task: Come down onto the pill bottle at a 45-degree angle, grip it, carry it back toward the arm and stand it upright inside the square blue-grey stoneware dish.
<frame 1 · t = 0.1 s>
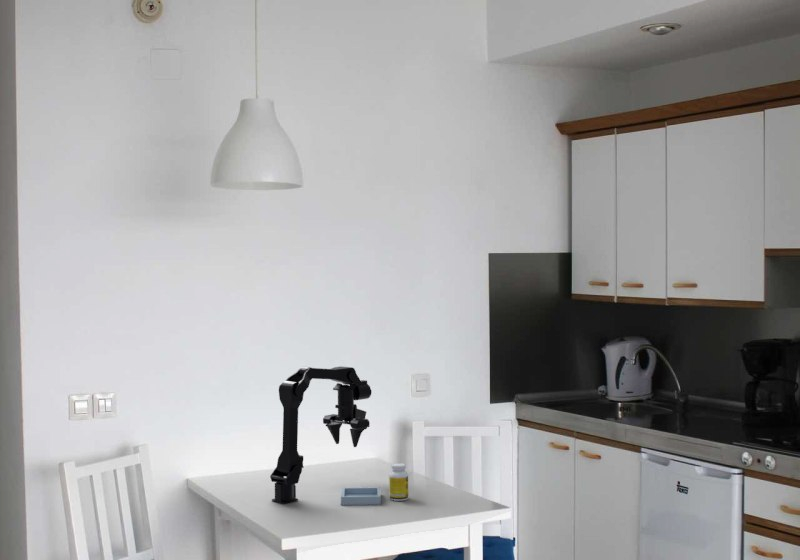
hand: (346, 445, 328), 15 cm above the table, tool pointing down, fingers open, 9 cm apart
dish: (360, 499, 308), on the table
pill bottle: (398, 499, 308), on the table
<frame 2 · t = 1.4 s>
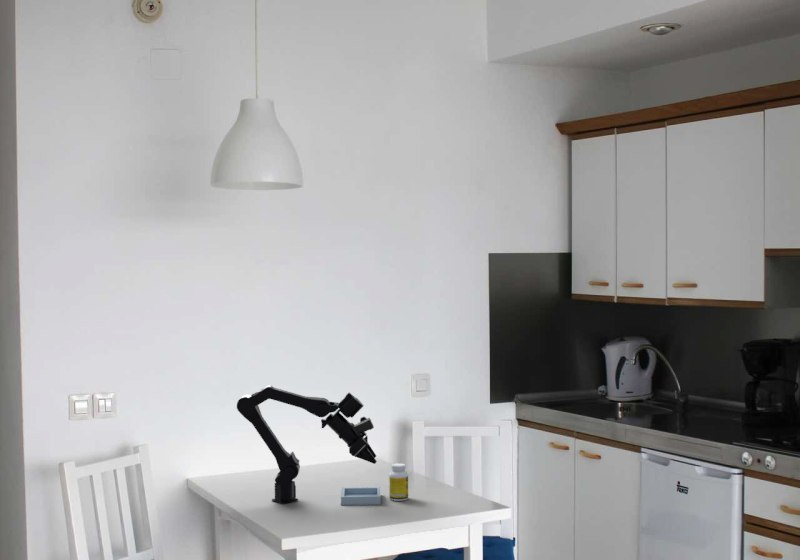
hand: (375, 459, 308), 13 cm above the table, tool tilted 45°, fingers open, 9 cm apart
nothing on the table moved.
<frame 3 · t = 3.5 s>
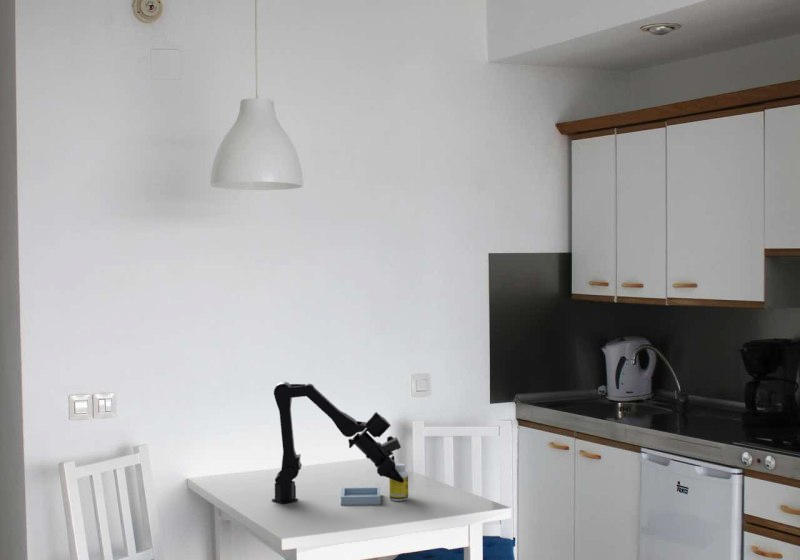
hand: (402, 479, 308), 7 cm above the table, tool tilted 45°, fingers closed on pill bottle, 6 cm apart
pill bottle: (398, 499, 308), on the table, touching gripper
when the fingers open (8 cm above the table, at t = 7.2 s): pill bottle stays where it is, resting on dish.
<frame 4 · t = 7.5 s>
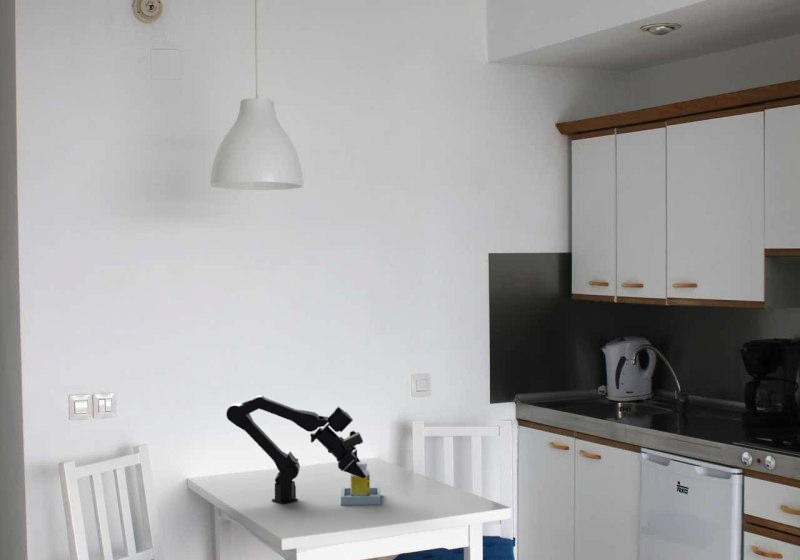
hand: (364, 474, 308), 9 cm above the table, tool tilted 45°, fingers open, 9 cm apart
pill bottle: (360, 498, 308), resting on dish
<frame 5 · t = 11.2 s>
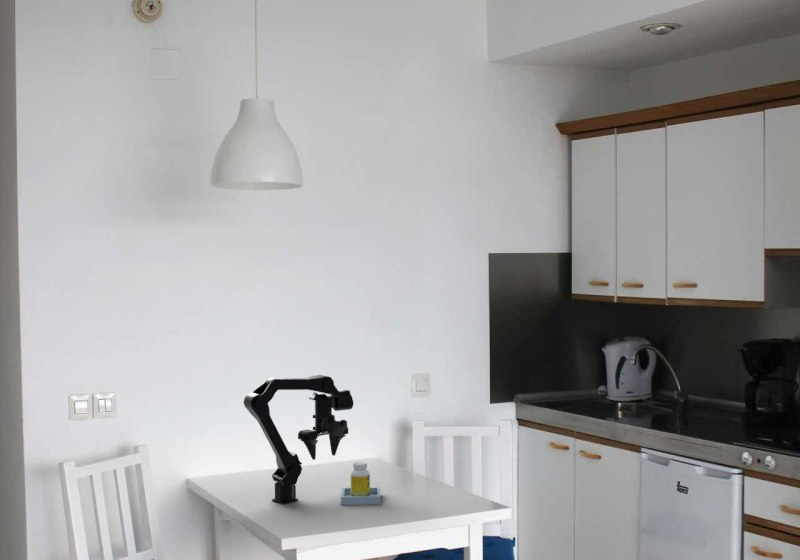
hand: (323, 457, 314), 13 cm above the table, tool pointing down, fingers open, 9 cm apart
nothing on the table moved.
at the end: pill bottle inside the target area on the dish (0.3 cm from its centre), point 0.4 cm above the dish's base; pill bottle tilted 0°; the gripper is holding nothing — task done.
